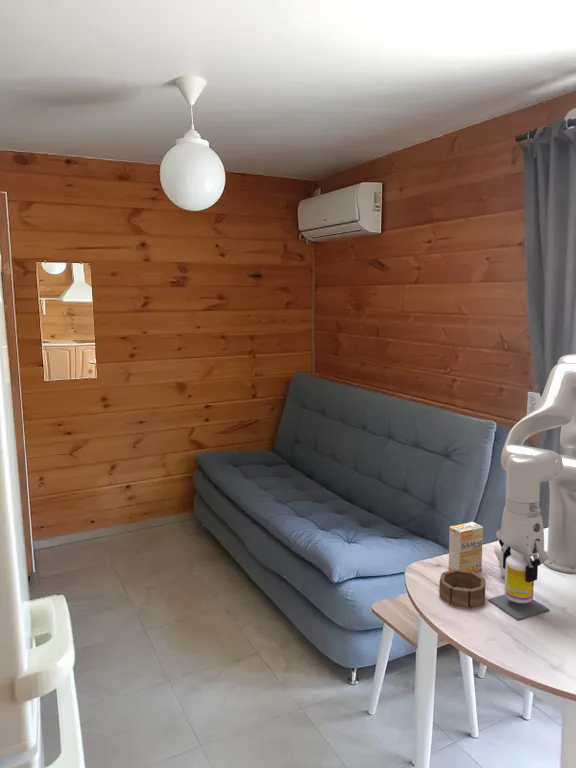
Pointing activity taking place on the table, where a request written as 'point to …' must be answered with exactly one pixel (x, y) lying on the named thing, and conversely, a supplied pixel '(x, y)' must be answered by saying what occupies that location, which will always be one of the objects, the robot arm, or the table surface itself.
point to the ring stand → (462, 596)
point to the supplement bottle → (517, 578)
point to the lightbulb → (499, 557)
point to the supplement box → (465, 547)
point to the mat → (518, 607)
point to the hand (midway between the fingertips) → (519, 573)
